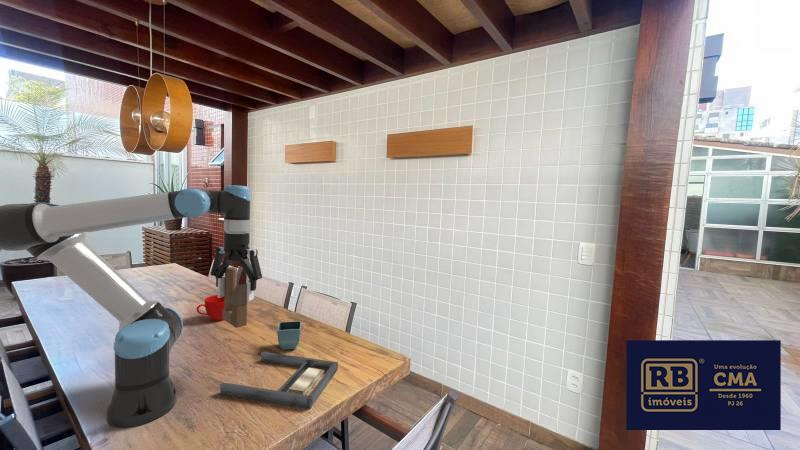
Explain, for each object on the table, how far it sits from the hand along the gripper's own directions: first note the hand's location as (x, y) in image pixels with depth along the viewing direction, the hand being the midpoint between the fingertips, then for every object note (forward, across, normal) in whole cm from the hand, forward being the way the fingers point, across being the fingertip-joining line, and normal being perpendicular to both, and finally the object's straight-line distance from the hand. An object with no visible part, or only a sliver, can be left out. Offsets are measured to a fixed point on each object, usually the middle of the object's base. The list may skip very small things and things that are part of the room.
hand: (235, 298), depth 109 cm
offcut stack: (+26, -27, +1) cm, 37 cm away
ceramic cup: (+26, +39, -39) cm, 61 cm away
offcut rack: (+26, -19, +1) cm, 32 cm away
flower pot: (+26, -8, -22) cm, 35 cm away
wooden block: (+9, 0, 0) cm, 9 cm away
